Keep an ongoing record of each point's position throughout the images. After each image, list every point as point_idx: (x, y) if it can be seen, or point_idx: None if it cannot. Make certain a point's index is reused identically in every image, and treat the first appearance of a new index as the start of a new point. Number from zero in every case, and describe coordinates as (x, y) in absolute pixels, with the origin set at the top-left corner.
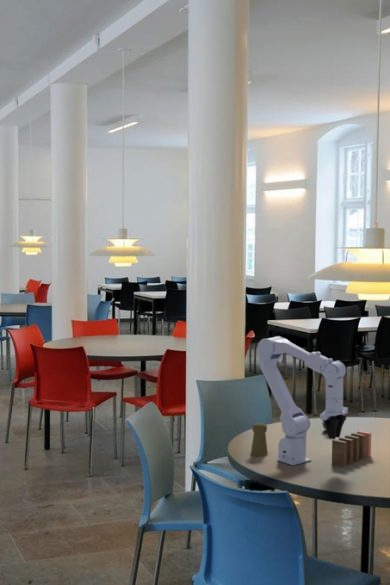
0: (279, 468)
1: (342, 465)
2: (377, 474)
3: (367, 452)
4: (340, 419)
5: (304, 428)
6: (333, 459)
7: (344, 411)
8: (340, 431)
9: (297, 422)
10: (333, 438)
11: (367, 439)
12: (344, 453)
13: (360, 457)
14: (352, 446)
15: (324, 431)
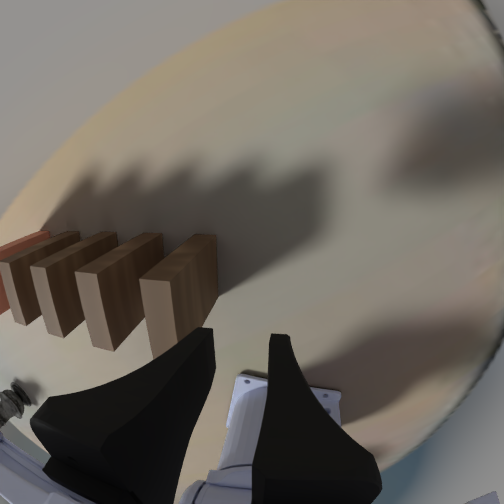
0: (392, 399)
1: (214, 244)
2: (215, 59)
3: (39, 240)
4: (135, 449)
5: (241, 499)
6: (211, 299)
7: (16, 487)
8: (181, 349)
9: None
10: (289, 342)
11: (3, 257)
12: (192, 255)
13: (76, 242)
14: (104, 257)
15: (27, 403)
